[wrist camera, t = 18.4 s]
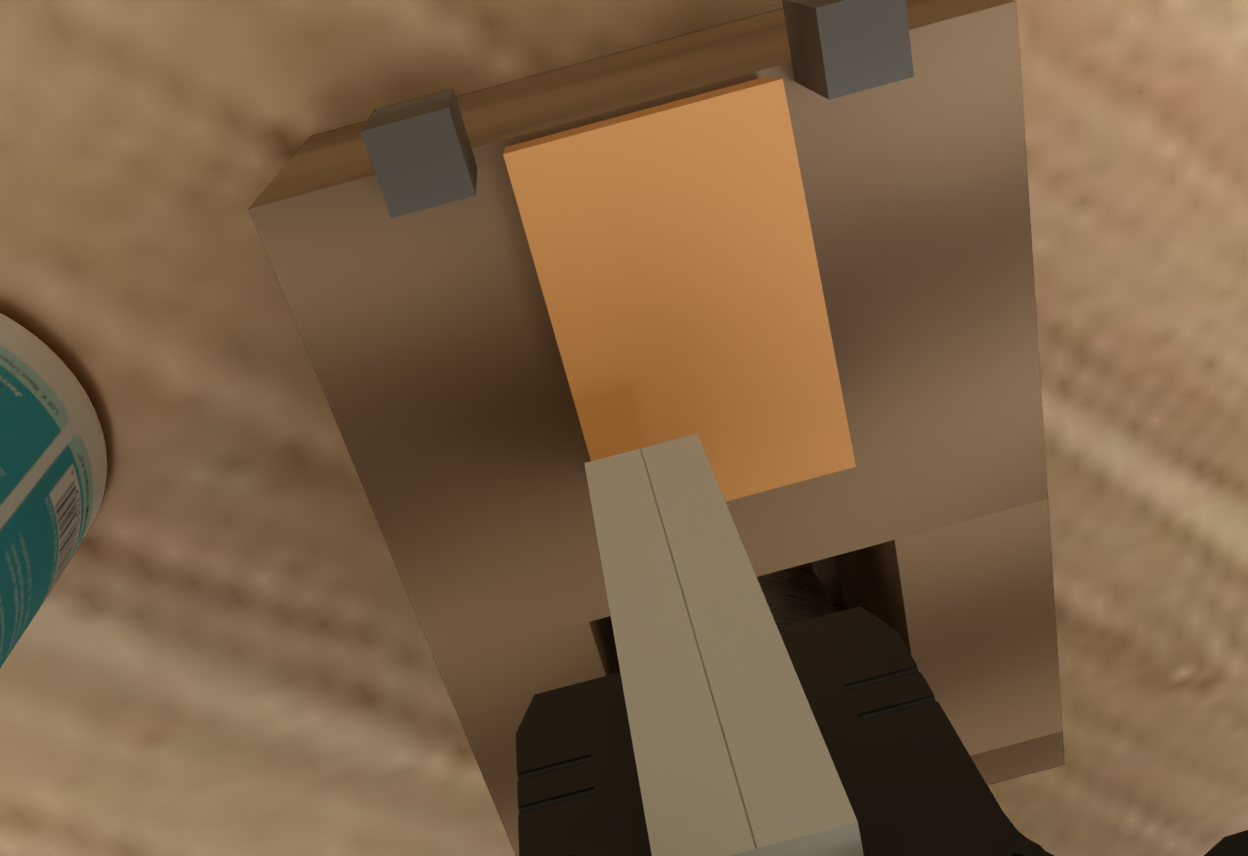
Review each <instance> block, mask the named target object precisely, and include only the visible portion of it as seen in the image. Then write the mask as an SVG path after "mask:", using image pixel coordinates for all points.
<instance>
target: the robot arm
mask: <svg viewBox="0 0 1248 856" xmlns="http://www.w3.org/2000/svg"><path fill="white" fill-rule="evenodd" d="M584 464H585V470H586V476H587V482H588V487H589V493H590V499H591V505H592V511H593V517H594V522H595V528H596V534H597V540H598V546H599V551H600V557H601V563H602V569H603V575H604V580H605V586H606V592H607V598H608V604H609V610H610V615H611V621H612V627H613V633H614V639H615V644H616V650H617V656H618V662H619V668H620V672H619V673H615V674H611V675H608V676H604V677H600V678H596V679H592V680H588V681H585V682H581V683H577V684H573V685H569V686H565V687H562V688H558V689H554V690H550V691H546V692H542V693H539V694H535V695H534V696H533V698H532V700H531V703H530V705H529V707H528V709H527V711H526V713H525V715H524V717H523V720H522V722H521V724H520V726H519V728H518V730H517V732H516V757H517V775H518V781H517V796H518V809H519V815H518V834H519V856H1054V855H1052V854H1050V853H1048V852H1046V851H1045V850H1044V849H1043V848H1042V847H1041V846H1040V845H1038V844H1036V843H1034V842H1033V841H1031V840H1029V839H1027V838H1026V837H1025V836H1024V835H1022V834H1021V833H1020V832H1019V831H1017V829H1016V828H1015V827H1014V826H1013V824H1012V823H1011V822H1010V820H1009V819H1008V818H1007V817H1006V815H1005V814H1004V813H1003V811H1002V810H1001V808H1000V806H999V804H998V803H997V801H996V799H995V798H994V796H993V794H992V792H991V791H990V789H989V787H988V786H987V784H986V782H985V781H984V779H983V777H982V775H981V774H980V772H979V770H978V769H977V767H976V765H975V763H974V762H973V760H972V758H971V757H970V755H969V753H968V751H967V750H966V748H965V746H964V745H963V743H962V741H961V740H960V738H959V736H958V734H957V733H956V731H955V729H954V728H953V726H952V724H951V722H950V721H949V719H948V717H947V716H946V714H945V712H944V711H943V709H942V707H941V705H940V704H939V702H936V700H935V697H934V693H933V692H932V690H931V688H930V687H929V685H928V683H927V681H926V680H925V678H924V676H923V675H922V673H921V672H920V673H919V671H918V668H917V664H916V663H915V661H914V659H913V658H912V656H911V654H910V652H909V651H908V649H907V647H906V646H905V644H904V642H903V640H902V639H901V637H900V635H899V634H898V632H897V631H896V630H895V629H893V628H892V627H890V626H889V625H887V624H886V623H884V622H883V621H881V620H880V619H879V618H877V617H876V616H874V615H873V614H871V613H870V612H868V611H867V610H865V609H864V608H862V607H861V606H859V607H856V608H852V609H848V610H844V611H840V612H836V613H833V614H829V615H825V616H821V617H817V618H813V619H810V620H806V621H802V622H798V623H794V624H790V625H787V626H783V627H779V628H777V625H776V623H775V621H774V618H773V616H772V613H771V611H770V609H769V606H768V604H767V601H766V599H765V596H764V594H763V592H762V589H761V587H760V584H759V582H758V580H757V577H756V575H755V572H754V570H753V567H752V565H751V563H750V560H749V558H748V555H747V553H746V550H745V548H744V546H743V543H742V541H741V538H740V536H739V534H738V531H737V529H736V526H735V524H734V521H733V519H732V517H731V514H730V512H729V509H728V507H727V505H726V502H725V500H724V497H723V495H722V492H721V490H720V488H719V485H718V483H717V480H716V478H715V475H714V473H713V471H712V468H711V466H710V463H709V461H708V459H707V456H706V454H705V451H704V449H703V446H702V444H701V442H700V439H699V437H698V434H694V435H690V436H686V437H682V438H679V439H675V440H671V441H667V442H663V443H659V444H656V445H652V446H648V447H644V448H640V449H636V450H632V451H629V452H625V453H621V454H617V455H613V456H609V457H606V458H602V459H598V460H594V461H590V462H586V463H584ZM1204 856H1248V830H1246V831H1243V832H1240V833H1236V834H1233V835H1230V836H1227V837H1224V838H1223V839H1222V840H1221V841H1220V842H1219V843H1217V844H1216V845H1215V846H1214V847H1213V848H1212V849H1211V850H1210V851H1209V852H1208V853H1206V854H1205V855H1204Z"/></svg>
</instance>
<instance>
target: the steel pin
mask: <svg viewBox="0 0 1248 856" xmlns="http://www.w3.org/2000/svg"><path fill="white" fill-rule="evenodd" d="M757 580H758V582H759V584H760V587H761V589H762V592H763V594H764V596H765V599H766V601H767V604H768V606H769V609H770V611H771V613H772V616H773V618H774V621H775V623H776V625H777V628H779V627H783V626H787V625H790V624H794V623H798V622H802V621H806V620H810V619H813V618H817V617H821V616H825V615H829V614H833V613H836V611H835V609H834V607H833V605H832V603H831V601H830V599H829V597H828V595H827V593H826V591H825V589H824V587H823V585H822V583H821V581H820V579H819V577H818V575H817V573H816V571H815V569H814V567H813V565H812V563H811V562H810V563H806V564H803V565H799V566H795V567H792V568H788V569H784V570H780V571H777V572H773V573H769V574H765V575H762V576H758V577H757Z"/></svg>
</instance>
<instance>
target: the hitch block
mask: <svg viewBox="0 0 1248 856" xmlns="http://www.w3.org/2000/svg"><path fill="white" fill-rule="evenodd" d="M782 4H783V9H779V10H775V11H771V12H768V13H764V14H760V15H757V16H753V17H749V18H746V19H742V20H738V21H735V22H731V23H727V24H724V25H720V26H716V27H712V28H709V29H705V30H701V31H698V32H694V33H690V34H687V35H683V36H679V37H676V38H672V39H668V40H665V41H661V42H657V43H653V44H650V45H646V46H642V47H639V48H635V49H631V50H628V51H624V52H620V53H617V54H613V55H609V56H606V57H602V58H598V59H594V60H591V61H587V62H583V63H580V64H576V65H572V66H569V67H565V68H561V69H558V70H554V71H550V72H547V73H543V74H539V75H535V76H532V77H528V78H524V79H521V80H517V81H513V82H510V83H506V84H502V85H499V86H495V87H491V88H488V89H484V90H480V91H476V92H473V93H469V94H465V95H462V96H458V97H456V96H455V92H454V89H449V90H445V91H442V92H438V93H434V94H431V95H427V96H423V97H420V98H416V99H412V100H408V101H405V102H401V103H397V104H394V105H390V106H386V107H383V108H379V109H375V110H374V111H373V113H372V115H371V116H370V118H369V119H368V121H366V122H362V123H359V124H355V125H351V126H347V127H344V128H340V129H336V130H333V131H329V132H325V133H322V134H318V135H314V136H311V137H310V138H309V139H308V140H307V141H306V143H305V144H304V145H303V146H302V147H301V148H300V149H299V151H298V152H297V153H296V154H295V155H294V156H293V158H292V159H291V160H290V161H289V162H288V163H287V165H286V166H285V167H284V168H283V169H282V170H281V172H280V173H279V174H278V175H277V176H276V177H275V179H274V180H273V181H272V182H271V183H270V184H269V185H268V187H267V188H266V189H265V190H264V191H263V192H262V194H261V195H260V196H259V197H258V198H257V199H256V201H255V202H254V203H253V204H252V205H251V206H250V208H249V209H248V210H249V212H250V215H251V217H252V219H253V222H254V224H255V227H256V229H257V231H258V234H259V236H260V239H261V241H262V243H263V246H264V248H265V251H266V253H267V256H268V258H269V260H270V263H271V265H272V268H273V270H274V272H275V275H276V277H277V280H278V282H279V285H280V287H281V289H282V292H283V294H284V297H285V299H286V301H287V304H288V306H289V309H290V311H291V314H292V316H293V318H294V321H295V323H296V326H297V328H298V330H299V333H300V335H301V338H302V340H303V343H304V345H305V347H306V350H307V352H308V355H309V357H310V359H311V362H312V364H313V367H314V369H315V372H316V374H317V376H318V379H319V381H320V384H321V386H322V388H323V391H324V393H325V396H326V398H327V401H328V403H329V405H330V408H331V410H332V413H333V415H334V417H335V420H336V422H337V425H338V427H339V429H340V432H341V434H342V437H343V439H344V442H345V444H346V446H347V449H348V451H349V454H350V456H351V458H352V461H353V463H354V466H355V468H356V471H357V473H358V475H359V478H360V480H361V483H362V485H363V487H364V490H365V492H366V495H367V497H368V500H369V502H370V504H371V507H372V509H373V512H374V514H375V516H376V519H377V521H378V524H379V526H380V529H381V531H382V533H383V536H384V538H385V541H386V543H387V545H388V548H389V550H390V553H391V555H392V558H393V560H394V562H395V565H396V567H397V570H398V572H399V574H400V577H401V579H402V582H403V584H404V586H405V589H406V591H407V594H408V596H409V599H410V601H411V603H412V606H413V608H414V611H415V613H416V615H417V618H418V620H419V623H420V625H421V628H422V630H423V632H424V635H425V637H426V640H427V642H428V644H429V647H430V649H431V652H432V654H433V657H434V659H435V661H436V664H437V666H438V669H439V671H440V673H441V676H442V678H443V681H444V683H445V686H446V688H447V690H448V693H449V695H450V698H451V700H452V702H453V705H454V707H455V710H456V712H457V715H458V717H459V719H460V722H461V724H462V727H463V729H464V731H465V734H466V736H467V739H468V741H469V744H470V746H471V748H472V751H473V753H474V756H475V758H476V760H477V763H478V765H479V768H480V770H481V772H482V775H483V777H484V780H485V782H486V785H487V787H488V789H489V792H490V794H491V797H492V799H493V801H494V804H495V806H496V809H497V811H498V814H499V816H500V818H501V821H502V823H503V826H504V828H505V830H506V833H507V835H508V838H509V840H510V843H511V845H512V847H513V850H514V852H515V855H516V856H519V834H518V815H519V809H518V796H517V781H518V775H517V757H516V732H517V730H518V728H519V726H520V724H521V722H522V720H523V717H524V715H525V713H526V711H527V709H528V707H529V705H530V703H531V700H532V698H533V696H534V695H535V694H539V693H542V692H546V691H550V690H554V689H558V688H562V687H565V686H569V685H573V684H577V683H581V682H585V681H588V680H592V679H596V678H600V677H604V676H608V675H611V674H615V673H619V672H620V668H619V662H618V656H617V650H616V644H615V639H614V633H613V627H612V621H611V615H610V610H609V604H608V598H607V592H606V586H605V580H604V575H603V569H602V563H601V557H600V551H599V546H598V540H597V534H596V528H595V522H594V517H593V511H592V505H591V499H590V493H589V487H588V482H587V476H586V470H585V464H584V463H586V462H590V461H591V459H590V456H589V452H588V449H587V445H586V442H585V438H584V435H583V431H582V428H581V424H580V421H579V417H578V414H577V410H576V407H575V403H574V400H573V396H572V393H571V389H570V386H569V383H568V379H567V376H566V372H565V369H564V365H563V362H562V358H561V355H560V351H559V348H558V344H557V341H556V337H555V334H554V330H553V327H552V323H551V320H550V316H549V313H548V309H547V306H546V302H545V299H544V295H543V292H542V288H541V285H540V281H539V278H538V274H537V271H536V268H535V264H534V261H533V257H532V254H531V250H530V247H529V243H528V240H527V236H526V233H525V229H524V226H523V222H522V219H521V215H520V212H519V208H518V205H517V201H516V198H515V194H514V191H513V187H512V184H511V180H510V177H509V173H508V170H507V166H506V163H505V159H504V156H503V153H504V149H505V147H508V146H511V145H515V144H519V143H522V142H526V141H530V140H533V139H537V138H541V137H544V136H548V135H552V134H556V133H559V132H563V131H567V130H570V129H574V128H578V127H581V126H585V125H589V124H592V123H596V122H600V121H604V120H607V119H611V118H615V117H618V116H622V115H626V114H629V113H633V112H637V111H640V110H644V109H648V108H652V107H655V106H659V105H663V104H666V103H670V102H674V101H677V100H681V99H685V98H688V97H692V96H696V95H699V94H703V93H707V92H711V91H714V90H718V89H722V88H725V87H729V86H733V85H736V84H740V83H744V82H747V81H751V80H755V79H759V78H762V77H770V78H781V79H783V82H784V88H785V93H786V98H787V104H788V109H789V114H790V119H791V125H792V130H793V135H794V141H795V146H796V151H797V157H798V162H799V167H800V172H801V178H802V183H803V188H804V194H805V199H806V204H807V210H808V215H809V220H810V225H811V231H812V236H813V241H814V247H815V252H816V257H817V263H818V268H819V273H820V278H821V284H822V289H823V294H824V300H825V305H826V310H827V316H828V321H829V326H830V331H831V337H832V342H833V347H834V353H835V358H836V363H837V369H838V374H839V379H840V385H841V390H842V395H843V400H844V406H845V411H846V416H847V422H848V427H849V432H850V438H851V443H852V448H853V453H854V459H855V464H856V467H853V468H849V469H846V470H842V471H838V472H834V473H831V474H827V475H823V476H819V477H816V478H812V479H808V480H805V481H801V482H797V483H793V484H790V485H786V486H782V487H779V488H775V489H771V490H767V491H764V492H760V493H756V494H752V495H749V496H745V497H741V498H738V499H734V500H730V501H726V505H727V507H728V509H729V512H730V514H731V517H732V519H733V521H734V524H735V526H736V529H737V531H738V534H739V536H740V538H741V541H742V543H743V546H744V548H745V550H746V553H747V555H748V558H749V560H750V563H751V565H752V567H753V570H754V572H755V575H756V577H758V576H762V575H765V574H769V573H773V572H777V571H780V570H784V569H788V568H792V567H795V566H799V565H803V564H806V563H810V562H814V561H818V560H821V559H825V558H829V557H833V556H835V557H836V563H837V568H838V574H839V579H840V585H841V591H842V596H843V602H844V604H843V605H839V606H835V607H834V609H835V611H836V612H840V611H844V610H848V609H852V608H856V607H859V606H861V607H862V608H864V609H865V610H867V611H868V612H870V613H871V614H873V615H874V616H876V617H877V618H879V619H880V620H881V621H883V622H884V623H886V624H887V625H889V626H890V627H892V628H893V629H895V630H896V631H897V632H898V634H899V635H900V637H901V639H902V640H903V642H904V644H905V646H906V647H907V649H908V651H909V652H910V654H911V656H912V658H913V659H914V661H915V663H916V664H917V668H918V671H919V673H920V672H921V673H922V675H923V676H924V678H925V680H926V681H927V683H928V685H929V687H930V688H931V690H932V692H933V693H934V697H935V700H936V702H939V704H940V705H941V707H942V709H943V711H944V712H945V714H946V716H947V717H948V719H949V721H950V722H951V724H952V726H953V728H954V729H955V731H956V733H957V734H958V736H959V738H960V740H961V741H962V743H963V745H964V746H965V748H966V750H967V751H968V753H969V755H970V757H971V758H972V760H973V762H974V763H975V765H976V767H977V769H978V770H979V772H980V774H981V775H982V777H983V779H984V781H985V782H986V784H987V785H990V784H994V783H998V782H1001V781H1005V780H1009V779H1013V778H1016V777H1020V776H1024V775H1028V774H1031V773H1035V772H1039V771H1043V770H1046V769H1050V768H1054V767H1058V766H1061V765H1065V760H1064V744H1063V728H1062V712H1061V696H1060V681H1059V665H1058V649H1057V633H1056V617H1055V602H1054V586H1053V570H1052V554H1051V538H1050V523H1049V507H1048V491H1047V475H1046V459H1045V444H1044V428H1043V412H1042V396H1041V380H1040V365H1039V349H1038V333H1037V317H1036V301H1035V286H1034V270H1033V254H1032V238H1031V222H1030V207H1029V191H1028V175H1027V159H1026V143H1025V128H1024V112H1023V96H1022V80H1021V64H1020V49H1019V33H1018V17H1017V1H1014V0H782Z"/></svg>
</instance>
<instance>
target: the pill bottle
mask: <svg viewBox="0 0 1248 856" xmlns="http://www.w3.org/2000/svg"><path fill="white" fill-rule="evenodd" d="M106 476H107V456H106V446H105V440H104V435H103V431H102V428H101V425H100V422H99V419H98V417H97V414H96V411H95V409H94V407H93V405H92V403H91V401H90V399H89V397H88V395H87V394H86V392H85V390H84V389H83V387H82V386H81V384H80V383H79V381H78V380H77V378H76V377H75V376H74V374H73V373H72V372H71V371H70V370H69V368H68V367H67V366H66V365H65V364H64V362H63V361H62V360H61V359H60V358H59V357H58V356H57V355H56V354H55V353H54V352H53V351H52V350H51V349H50V348H49V347H48V346H47V345H46V344H44V343H43V342H42V341H41V340H40V339H39V338H37V337H36V336H35V335H34V334H32V333H31V332H29V331H28V330H27V329H25V328H24V327H22V326H21V325H19V324H18V323H16V322H15V321H13V320H12V319H10V318H8V317H7V316H5V315H3V314H1V313H0V668H1V666H2V665H3V663H4V662H5V660H6V659H7V657H8V656H9V654H10V652H11V651H12V649H13V648H14V646H15V645H16V643H17V642H18V640H19V639H20V637H21V636H22V634H23V633H24V631H25V630H26V628H27V627H28V625H29V624H30V622H31V621H32V619H33V618H34V616H35V614H36V613H37V611H38V610H39V608H40V607H41V605H42V604H43V602H44V601H45V599H46V598H47V596H48V595H49V593H50V591H51V590H52V588H53V587H54V585H55V584H56V582H57V581H58V579H59V577H60V576H61V574H62V573H63V571H64V569H65V568H66V566H67V564H68V563H69V561H70V560H71V558H72V557H73V555H74V554H75V552H76V550H77V549H78V547H79V545H80V543H81V542H82V540H83V539H84V537H85V536H86V534H87V533H88V531H89V529H90V527H91V526H92V524H93V522H94V520H95V518H96V516H97V513H98V511H99V508H100V505H101V502H102V499H103V496H104V491H105V485H106Z"/></svg>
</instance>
